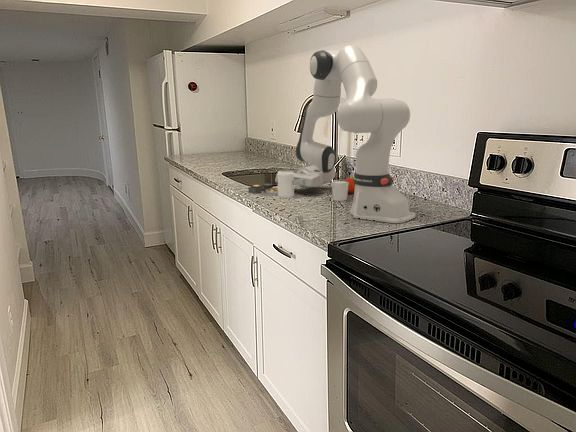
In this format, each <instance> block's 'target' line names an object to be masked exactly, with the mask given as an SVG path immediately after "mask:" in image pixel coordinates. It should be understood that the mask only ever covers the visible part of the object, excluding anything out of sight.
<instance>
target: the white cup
mask: <svg viewBox="0 0 576 432" xmlns="http://www.w3.org/2000/svg"><path fill="white" fill-rule="evenodd" d="M348 184H349V182H346V181H345V180H335V181H331V192H332V193H331V195H332V201H337V202H344V200H345V201H347V200H348V194H349V193H348Z"/></svg>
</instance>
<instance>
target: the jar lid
mask: <svg viewBox="0 0 576 432" xmlns="http://www.w3.org/2000/svg"><path fill="white" fill-rule="evenodd" d="M265 193H266V194H273V195H277V196H278V187H273V188H268V189H266V190H265Z"/></svg>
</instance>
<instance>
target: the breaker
mask: <svg viewBox="0 0 576 432" xmlns="http://www.w3.org/2000/svg"><path fill="white" fill-rule="evenodd" d="M250 187H251V188H261V187H262V184H261V185H259V184H254V185H251V186H250Z"/></svg>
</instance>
